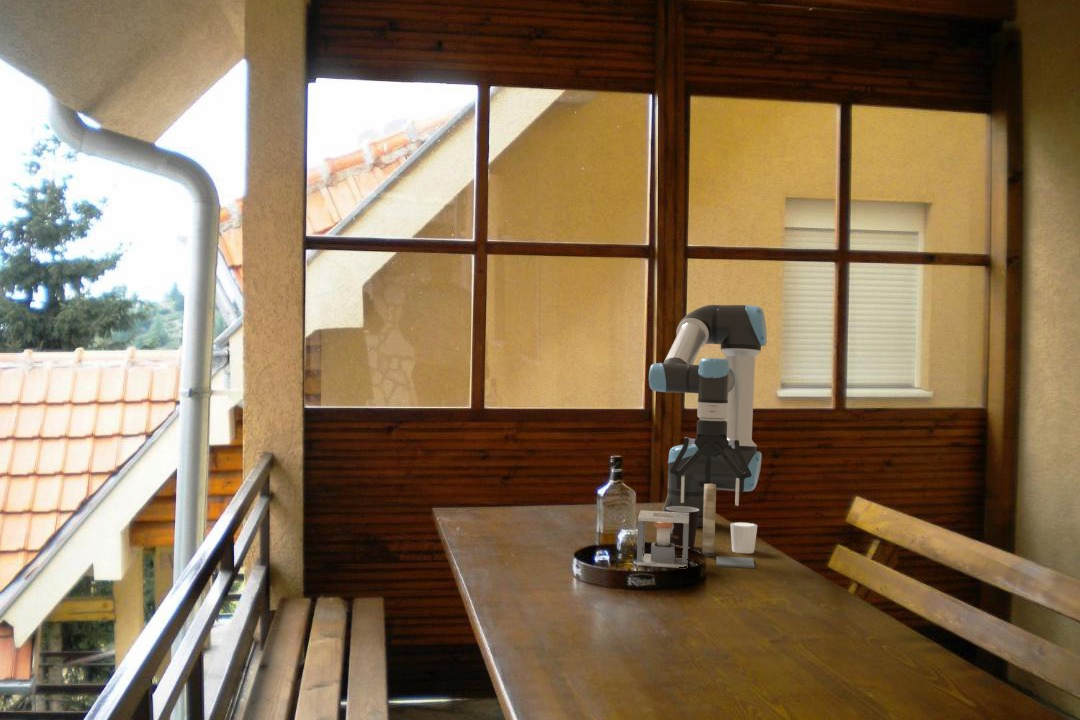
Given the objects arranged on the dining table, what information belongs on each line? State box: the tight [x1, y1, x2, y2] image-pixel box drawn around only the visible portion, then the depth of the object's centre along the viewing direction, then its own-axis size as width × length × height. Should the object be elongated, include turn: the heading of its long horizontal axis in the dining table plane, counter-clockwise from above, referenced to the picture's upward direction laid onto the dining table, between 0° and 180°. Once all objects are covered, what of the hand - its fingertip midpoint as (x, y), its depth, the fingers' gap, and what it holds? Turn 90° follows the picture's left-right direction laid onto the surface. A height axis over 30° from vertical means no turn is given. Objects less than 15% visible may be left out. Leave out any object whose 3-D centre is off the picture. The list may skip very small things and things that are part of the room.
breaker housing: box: [636, 509, 689, 569], centre depth 252 cm, size 10×12×12 cm
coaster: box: [715, 555, 756, 569], centre depth 253 cm, size 9×9×1 cm
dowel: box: [701, 484, 717, 558], centre depth 261 cm, size 3×3×18 cm
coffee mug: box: [666, 506, 699, 549], centre depth 272 cm, size 12×9×10 cm
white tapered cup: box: [730, 521, 758, 554], centre depth 268 cm, size 7×7×7 cm
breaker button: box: [654, 522, 673, 546], centre depth 252 cm, size 4×4×6 cm
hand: (709, 503), depth 261 cm, fingers open, 13 cm apart
